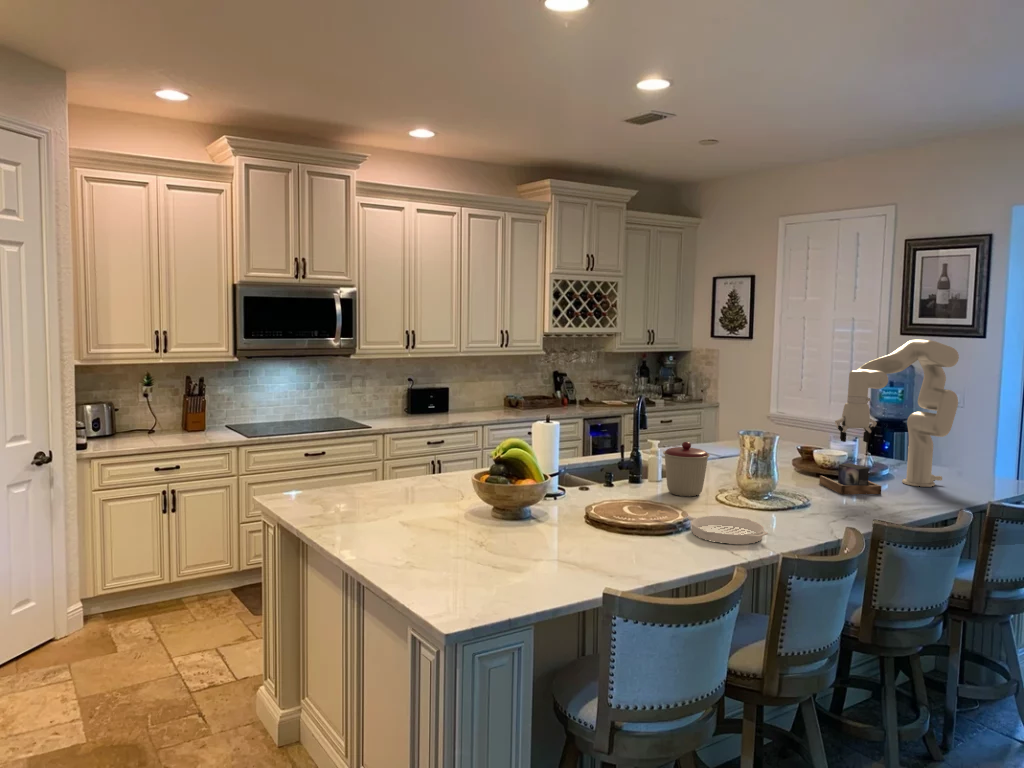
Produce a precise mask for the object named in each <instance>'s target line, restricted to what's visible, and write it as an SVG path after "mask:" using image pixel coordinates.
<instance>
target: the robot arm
mask: <svg viewBox="0 0 1024 768" xmlns="http://www.w3.org/2000/svg"><path fill="white" fill-rule="evenodd" d="M959 359H960V357H959V352H958V350H957V349H955V347H952V346H949V345H947V344H945V343H943V342H942V343H941V342H938V341H935V340H932V339H910V340H908V341H907V342H905V343H904V344H902V345H901V346H899V347H898V348H897V349H895V350H894V351H892V352H891V353H889V354H887V355H884V356H881V357H878V358H876V359H873V360H870V361H867V362H866V363H864V364H862V365H861V366H860V367H858V368H857V369H856V370H850V372H849V373H848V388H847V401H846V402H845V404H844V405H843V410H842V415H841V417H840V418H839V419H836V420H834V423H835V426H836V428H837V429H838V431H839V432H840V434H839V436H840V437H839V439H840V442H843V443H846V442H847V432H846V431H847V430H848V429H863V430H864V431H863V437H862V438H863V439H862V441H863V442H864V443H869V442H870V435H871V433H872V431H873V430H874V429H875V427H877V423H878V422H876V421H875V420H873V419H871V415H870V406H869V404H868V402H871V398H869V396H868V395H869V389H875V390H881V389H884V387H886V386H887V385H888V383H889V376H888V375H889V374H890V375H891V374H895V373H899V372H903V371H904V370H906V369H907V368H908V367H910V366H911V365H913V364H914V363H915V362H917V361H918V363H919V364H920V366H921V368H922V370H923V380H922V383H921V387H920V390H919V394H918V397H917V405H918V406H919V407H920V408H922V409H924V410H928V411H936V413H933V412H928V411H914V412H912V413H910V414H909V416H908V417H907V420H906V421H907V422H906V424H907V426H906V427H907V432H908V447H907V448H908V449H907V463H906V464H907V465H906V478H903V479H902V480H901V483H902V484H905V485H908V486H912V487H919V486H920V488H921V487H922V488H932V486H933V487H935V486H936V482H935V481H943V476H941V475H935V474H932V473H933V472H932V468H933V457H934V456H933V455H934V441H933V439H932V437H937V438H939V437H940V438H942V437H945V436H947V435H948V434H950V432H951V429H952V427H953V424H954V421H955V416H956V414H957V411H958V408H959V407H958V406H959V398H958V395H957V393H956V392H955V391H953V390H951V389H945V386H946V381H947V377H946V373H945V371H944V369H943V368H952V367H954V366H955V365H956V364H957V363H958V362H959ZM870 423H871V425H870Z"/></svg>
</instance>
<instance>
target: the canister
mask: <svg viewBox="0 0 1024 768" xmlns="http://www.w3.org/2000/svg"><path fill="white" fill-rule="evenodd" d="M662 454H663V455H664V463H665V466H664V467H665V478H666V486H667V489H668V492H669V493H670V494H671V495H674V496H678V495H680V496H679V497H696V495H697V496H699V495H700V494H701V493H702V491H703V488H704V483H705V478H706V472H707V465H708V458H709V457H710V454H709V453H708V452H707V451H706V450H703V449H700V448H696V447H692V444H691V442H689V441H683V442H682V444H681V446H679V447H677V446H676V447H675V446H674V447H669V448H667V449H666V450H664V451H663V452H662Z"/></svg>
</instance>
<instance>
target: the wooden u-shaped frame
mask: <svg viewBox="0 0 1024 768" xmlns="http://www.w3.org/2000/svg"><path fill="white" fill-rule="evenodd" d="M819 485H821V486H824V487H826V488H827V489H830V490H831V489H832V491H834V492H836V493H837V494H840V495H854V494H881V495H882V485H879V484H878V483H875V482H872V481H870V480H868V486H859V485H842V484H840V483H838V481H836V480H833V479H831V478H829V477H827V476H823V475H819Z"/></svg>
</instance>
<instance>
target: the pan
mask: <svg viewBox="0 0 1024 768" xmlns="http://www.w3.org/2000/svg"><path fill="white" fill-rule="evenodd" d="M686 516H687V517H688V519H689V520H688V521H690V524H691V532H693V533H692V534H693V535H694V536H695V535H696V536H695V537H697V536H698V537H700V538H699V539H701V538H703V539H706V540H711V541H715V542H722V543H729V544H746V545H750V544H749V543H753V544H756V543H755V542H757V543H759V542H761V540H763V537H764V536H766V535H768V534H769V533H768V532H767V531H766V530H765V527H764V526H763V525H762V524H760V523H759V522H757V521H753V520H751V519H749V518H745V517H744V518H742V517H735V516H729V515H728V516H725V515H707V516H705V515H704V516H699V517H693V516H689V515H686ZM708 525H722V526H733V528H730V529H727V530H724V531H728V530H731V529H734V528H735V527H739V529H741V528H744V529H748V530H751V531H754V532H756V533H754V534H753V533H751V534H744V533H741V534H744V535H741V534H738V535H734V533H732V534H725V533H724V534H722V533H715V532H707V531H704V530H703V529H700V528H698V527H702V526H708ZM717 527H721V526H717ZM714 528H716V527H714ZM725 528H728V527H724V528H720V529H725ZM711 529H712V528H711ZM720 529H718V530H720ZM739 529H735V530H732V531H729V532H733V531H737V530H739ZM741 531H745V530H741ZM741 531H738V532H735V533H739V532H741ZM721 532H723V531H721ZM729 532H726V533H729ZM747 532H750V531H747ZM745 533H746V532H745ZM698 537H697V538H698ZM703 539H702V540H703ZM706 540H705V541H706ZM758 541H759V542H758ZM729 544H728V545H729Z"/></svg>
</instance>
